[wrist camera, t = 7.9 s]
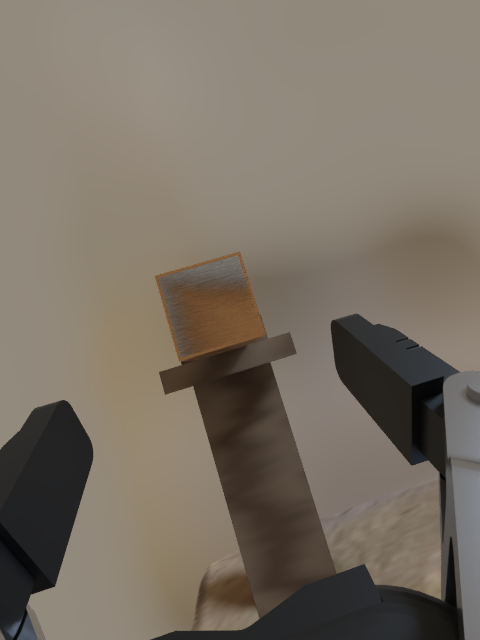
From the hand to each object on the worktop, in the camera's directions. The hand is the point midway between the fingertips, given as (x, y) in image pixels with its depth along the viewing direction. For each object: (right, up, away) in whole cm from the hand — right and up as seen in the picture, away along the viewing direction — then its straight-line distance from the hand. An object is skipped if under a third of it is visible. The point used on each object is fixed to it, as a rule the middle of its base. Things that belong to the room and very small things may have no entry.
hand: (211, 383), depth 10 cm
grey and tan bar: (0, 0, +14) cm, 14 cm away
